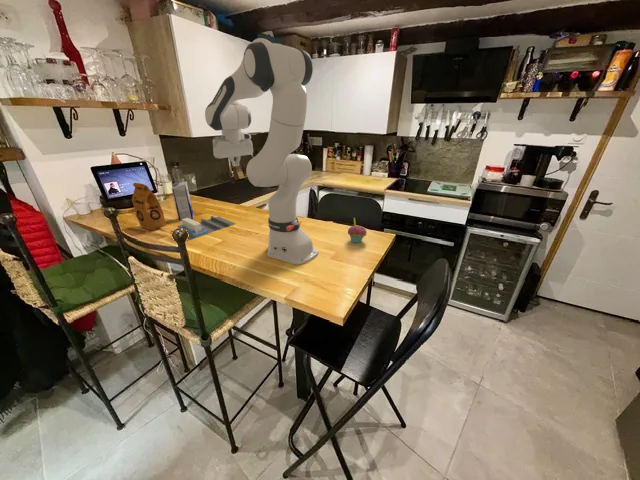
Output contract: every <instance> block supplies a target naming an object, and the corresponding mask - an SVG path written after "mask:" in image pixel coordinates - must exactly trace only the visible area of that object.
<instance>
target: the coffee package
mask: <svg viewBox="0 0 640 480" xmlns="http://www.w3.org/2000/svg"><path fill="white" fill-rule="evenodd" d="M132 186H133V187H134V190H133V193H132V197H131V201H132V205H133V208H134V211H135V215H136V216H135V217H136V218H137V221H138V223H139V226H140V227H142V228H145V229H146V230H149V231H153V232H154V231H158V230H161V229H162V228H163V227H165V226H167V224H166V219H165V215H164V211H163V209H162V207H161V204H160V201H159V200H158V198H157V196H156V195H155V194H154V193H153V191H152V190H151V189H150V188H149V186H148V185H147V184H144V183H139V182H133V184H132Z"/></svg>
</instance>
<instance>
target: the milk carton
mask: <svg viewBox="0 0 640 480" xmlns="http://www.w3.org/2000/svg"><path fill="white" fill-rule="evenodd" d="M171 192H172V196H173V199H174V200H173V201H174V204H175V209H176V213H177V216H178V217H177V218H178V221H182V219H185V218H190V219H192V220H194V210H193V206H192V200H191V196H190V191H189V186H188V182H187V181H182V182H174V183H172V187H171Z"/></svg>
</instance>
